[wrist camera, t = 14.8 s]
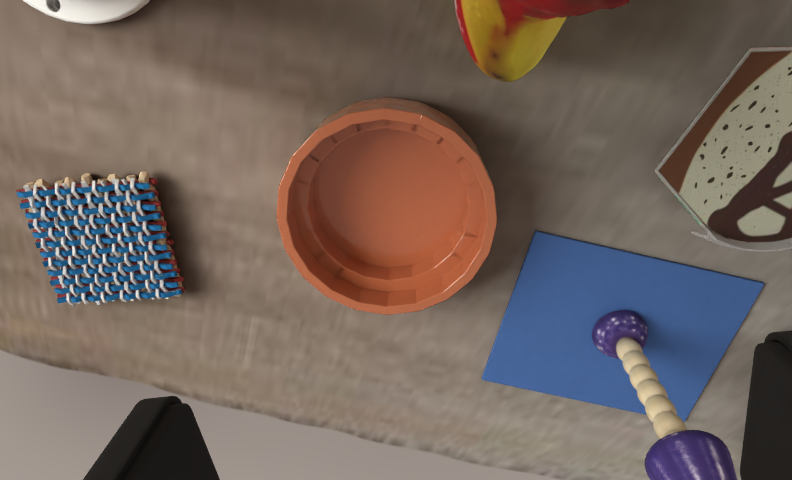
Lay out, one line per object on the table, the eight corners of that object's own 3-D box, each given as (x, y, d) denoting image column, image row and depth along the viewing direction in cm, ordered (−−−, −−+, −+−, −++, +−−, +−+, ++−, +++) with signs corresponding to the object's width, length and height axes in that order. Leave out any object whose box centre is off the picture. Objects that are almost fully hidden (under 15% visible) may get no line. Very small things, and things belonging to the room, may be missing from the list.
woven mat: (21, 177, 40) (2, 185, 38) (159, 167, 39) (145, 175, 37) (68, 298, 44) (52, 311, 42) (193, 291, 44) (182, 304, 42)
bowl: (316, 293, 43) (305, 325, 39) (270, 114, 37) (251, 128, 33) (496, 271, 42) (505, 301, 38) (478, 81, 36) (485, 92, 32)
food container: (707, 228, 39) (793, 296, 30) (639, 188, 38) (707, 248, 29) (840, 74, 35) (989, 101, 26) (767, 25, 34) (895, 35, 25)
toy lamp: (635, 361, 44) (747, 553, 29) (578, 355, 44) (660, 543, 29) (652, 312, 42) (783, 489, 27) (593, 305, 42) (690, 478, 27)
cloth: (481, 377, 46) (481, 379, 45) (534, 230, 40) (535, 232, 40) (682, 420, 47) (683, 422, 46) (762, 282, 41) (764, 283, 41)
